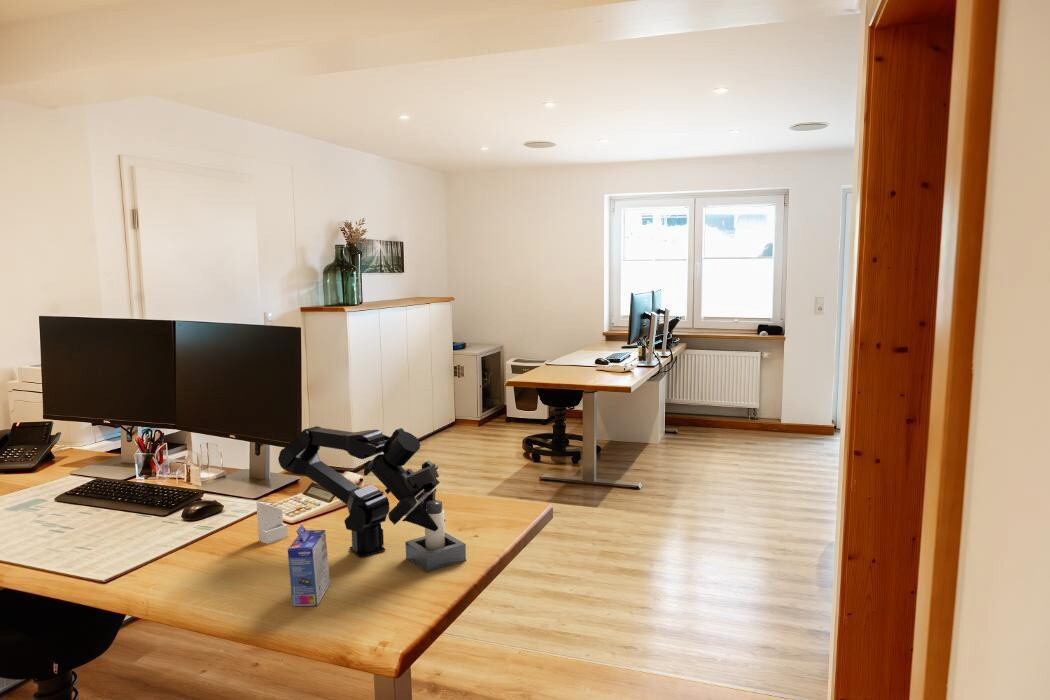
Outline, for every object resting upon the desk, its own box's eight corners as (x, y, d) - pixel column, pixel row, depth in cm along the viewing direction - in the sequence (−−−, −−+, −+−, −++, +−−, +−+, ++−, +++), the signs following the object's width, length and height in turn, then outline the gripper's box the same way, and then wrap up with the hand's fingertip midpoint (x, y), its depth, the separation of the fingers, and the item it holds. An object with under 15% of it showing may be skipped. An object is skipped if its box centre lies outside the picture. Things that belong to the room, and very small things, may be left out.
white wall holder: (241, 536, 167) (256, 501, 170) (274, 545, 175) (288, 511, 177) (250, 540, 165) (264, 504, 168) (283, 548, 173) (296, 514, 175)
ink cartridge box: (304, 584, 146) (300, 519, 145) (330, 584, 146) (327, 518, 145) (289, 607, 137) (285, 537, 135) (317, 606, 137) (314, 536, 135)
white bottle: (426, 558, 156) (425, 506, 154) (425, 550, 160) (423, 500, 159) (445, 556, 156) (444, 505, 155) (444, 548, 161) (443, 499, 159)
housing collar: (427, 572, 151) (427, 555, 151) (406, 558, 159) (405, 541, 159) (465, 560, 157) (465, 543, 157) (443, 547, 165) (442, 531, 165)
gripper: (400, 464, 147) (450, 518, 146) (430, 443, 165) (475, 490, 164) (367, 498, 150) (416, 550, 149) (400, 473, 168) (444, 520, 167)
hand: (440, 526), depth 157 cm, fingers closed on white bottle, 4 cm apart
